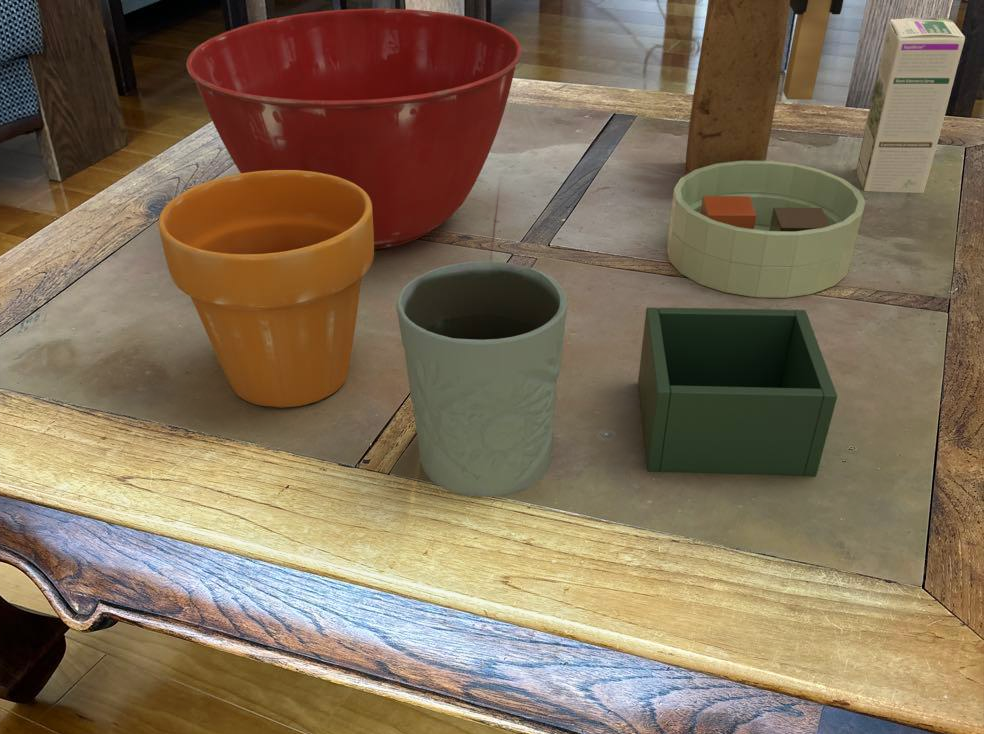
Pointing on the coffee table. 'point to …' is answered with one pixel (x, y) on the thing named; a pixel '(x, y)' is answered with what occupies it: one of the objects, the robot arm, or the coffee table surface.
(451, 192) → the mixing bowl
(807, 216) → the walnut block
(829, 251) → the bowl
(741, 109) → the block
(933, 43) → the syrup box
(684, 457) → the box
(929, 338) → the coffee table surface
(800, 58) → the stirring stick
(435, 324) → the grey green cup
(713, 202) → the terracotta block
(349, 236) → the flower pot
